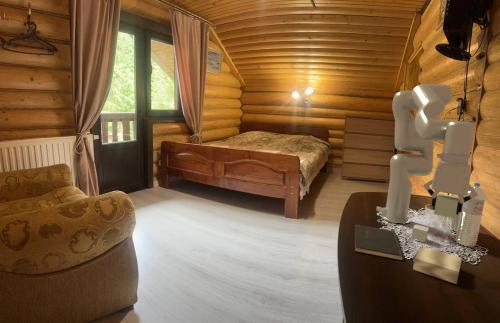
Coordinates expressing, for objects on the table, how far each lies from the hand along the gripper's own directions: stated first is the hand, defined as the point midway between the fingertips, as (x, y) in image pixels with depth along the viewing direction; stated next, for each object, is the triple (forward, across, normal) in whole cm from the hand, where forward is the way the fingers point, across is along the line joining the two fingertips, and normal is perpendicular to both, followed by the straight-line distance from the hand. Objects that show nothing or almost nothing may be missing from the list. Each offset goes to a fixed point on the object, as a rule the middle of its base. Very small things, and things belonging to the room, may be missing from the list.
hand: (445, 210), depth 104 cm
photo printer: (+18, +4, +41) cm, 45 cm away
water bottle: (+18, +7, +25) cm, 31 cm away
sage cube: (+1, 0, 0) cm, 1 cm away
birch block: (+18, +1, -7) cm, 20 cm away
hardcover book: (+19, -20, 0) cm, 28 cm away
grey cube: (+18, -8, +16) cm, 25 cm away
